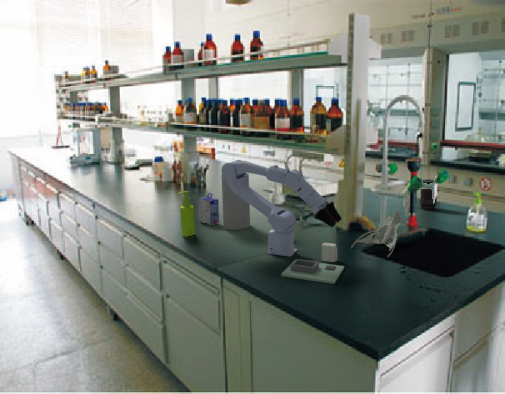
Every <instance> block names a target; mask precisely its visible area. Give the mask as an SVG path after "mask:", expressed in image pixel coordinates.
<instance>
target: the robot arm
mask: <svg viewBox="0 0 505 394" xmlns="http://www.w3.org/2000/svg"><path fill="white" fill-rule="evenodd" d="M220 171H221V175H222V178H223V179H225V180H226V181H227V183H228V185H229V186H230V188H231V190H232V191H233V192H234V193H235V194H237V195H238V196H239V197H241V198H242V199H243V200H245V201H246V202H247V203H249V204H250V206H251V207H252V208H254V209H255V210H257V211H258V212H259V213H261V214H262V215H263V216H265V217H266V218H267V223H268V224H270V225H271V227H272V229H270V230H269V232H268V237H267V239H268V242H267V243H268V245H267V246H268V252H267V254H269V255H277V256H282V257H283V256H284V257H292V256H293V255H294V254H295V253H296V252H297V251H298V249H297V248H295V241H294V240H295V238H294V237H295V235H294V234H295V233H294V232H295V231H294V229H295V228H294V225H295V224H296V222H297V217H296V215H295V213H294V212H293V211H291V210H286V209H285V208H283V207H281V206H276V205H275V204H274V203H272V202H271V201H269V200H268V199H267V198H265V197H264V196H262V195H261V194H260V193H258V192H257V191H255V190H254V189H253V188H252V187H250V185H249V186H247V185H246V184H245V175H246V173H248V174H252V175H258V176H262V177H265V178H266V179H267V180H268V181H271V182H274V183H277V184H281V185H285V187H286V188H288V189H292V190H293V191H294V192H295V193H296V194H297V195H298V197H300V199H302V201H304V202H305V204H307V206H308V207H310V209H311V210H310V211H311V212H312V213H313V214H314V216H313V218H314V219H315V220H318V221H321V222H323V223H325V224H326V225H328V227H330V228H333V227H334V226H336V225H337V223H339V222H340V221H342V219H343V218H342V216H341V215H340V213H339V212H338V210H337V208H336V205H335V203H334V201H328V199H329V198H328V197H325V198H324V197H323V196H322V194H320V193H319V192H318V191H317V190H316V189H315V188H314V186H312V185H311V184H310V183H309V182H308V181H307V180H306V179H305V178H304V175H303V173H302V172H301V171H300V170H298V169H297V168H294V169H292V170H291V169H290V168H289V167H287V168H283V167H279V165H278V164H274V165H271V166H269V167H266V166H263V165H260V164H256V163H253V162H250V161H248V160H241V159H237V160H234V161H230V162H225V163H224V164H223V165H222V166H221V170H220Z"/></svg>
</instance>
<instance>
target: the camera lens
mask: <svg viewBox="0 0 505 394" xmlns="http://www.w3.org/2000/svg"><path fill="white" fill-rule="evenodd" d="M434 180H435V179H422V180H421V181H423V183H427V184H430V183H433V182H434ZM419 198H420V199H419V205H420V209H421V210H424V211H434V210H436V209H435V208H436V205H437V201H438V200H437V196H436V199H435V203H434V204H433V199H432V190H431V189H421V188H420V197H419Z"/></svg>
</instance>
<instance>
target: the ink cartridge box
mask: <svg viewBox="0 0 505 394" xmlns="http://www.w3.org/2000/svg"><path fill="white" fill-rule="evenodd" d="M213 195H214V194H213V193H210V192H207V195H206V196H203V197H202V196H201V197H198V215H199V216H198V217H199V218H198V221H201V222H200V223H202V222H204V223H203V224H205V223H207V224H206V225H208V224H209V225H208V226H213V225H212V224H215V225H218V224H217V223H219V224H220V214H219V213H220V211H219V210H220V209H219V205H220V204H219V199H218V198H215V197H213Z"/></svg>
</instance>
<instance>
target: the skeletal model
mask: <svg viewBox="0 0 505 394" xmlns="http://www.w3.org/2000/svg"><path fill="white" fill-rule="evenodd" d="M402 223H403V218H402V216H401V213H399V210H394V214H391V215H390V216H387V218H386V219H385V222H384V224H383V225H382V226H381V227H380V228H378V229H374V230H370V231H368V232H366V233H364V234H362V235H361V236H359V237H358V238H357V239H356V240H355V241H354V242H353V244H352V245H351V249H353V247H354V245H355V244H356V243H365V245H367V244H377V245H382V244H384V245H385V247H388V248H389V249H388V251H390V252H389V254H388V255H387V256H386V257H387V258H389V257H390V256H391V254H392V253H393V251H394V249H395V246H396V243H397V240H398V232H397V231H398V227H399V225H400V224H402ZM373 232H374V233H373ZM367 234H369V235H367ZM366 235H367V236H366ZM364 236H366V237H364ZM373 236H374V238H373ZM363 237H364V238H363ZM361 238H362V239H361ZM387 240H388V241H387Z"/></svg>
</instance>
